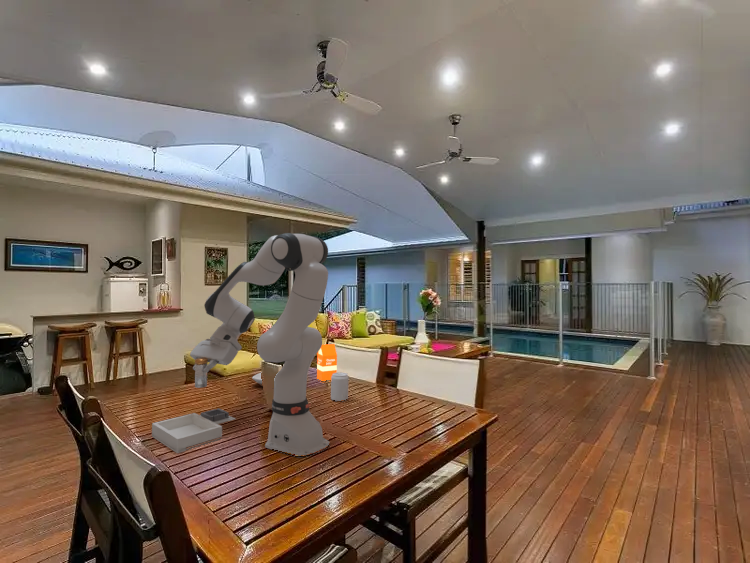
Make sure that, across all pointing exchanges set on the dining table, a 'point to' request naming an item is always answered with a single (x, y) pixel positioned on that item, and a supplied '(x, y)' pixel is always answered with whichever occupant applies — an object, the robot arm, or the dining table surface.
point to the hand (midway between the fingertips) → (199, 370)
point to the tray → (186, 432)
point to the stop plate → (217, 416)
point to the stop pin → (200, 372)
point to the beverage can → (339, 386)
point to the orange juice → (326, 362)
